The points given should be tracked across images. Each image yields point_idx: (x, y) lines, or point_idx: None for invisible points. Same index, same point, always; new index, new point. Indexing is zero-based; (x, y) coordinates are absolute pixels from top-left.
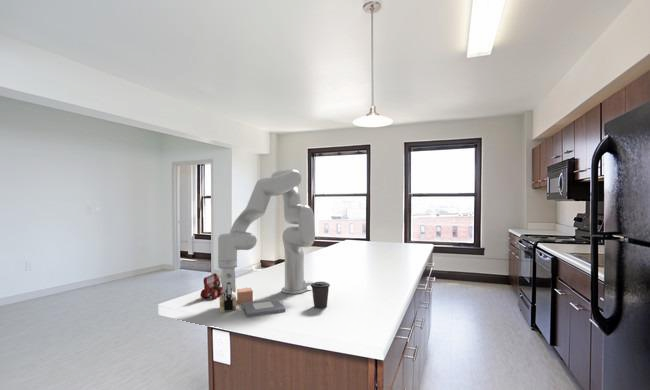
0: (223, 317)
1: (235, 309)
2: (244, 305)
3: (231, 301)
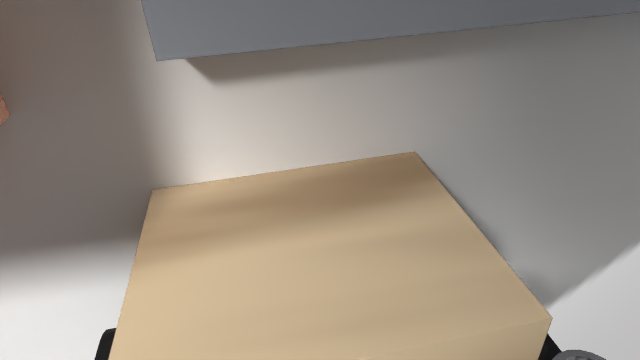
0: (599, 269)
1: (417, 166)
2: (418, 9)
3: None
